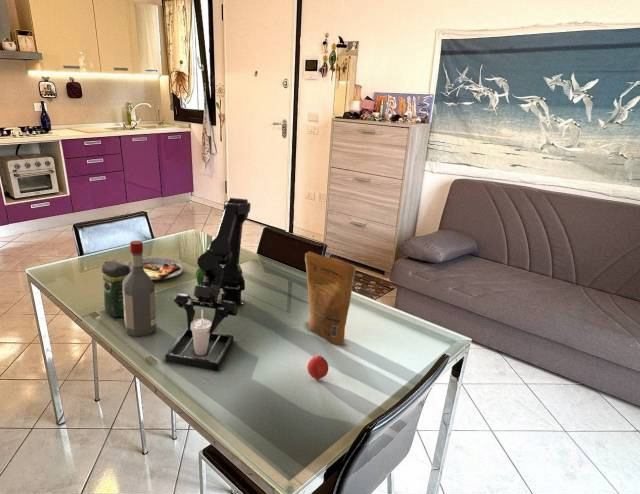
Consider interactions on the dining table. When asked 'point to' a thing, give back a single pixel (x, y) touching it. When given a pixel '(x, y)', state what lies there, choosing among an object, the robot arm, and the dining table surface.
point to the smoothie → (201, 334)
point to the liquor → (138, 296)
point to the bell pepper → (199, 276)
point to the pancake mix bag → (328, 295)
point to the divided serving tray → (198, 362)
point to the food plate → (160, 268)
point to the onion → (317, 367)
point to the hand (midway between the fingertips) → (199, 332)
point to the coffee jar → (114, 286)
